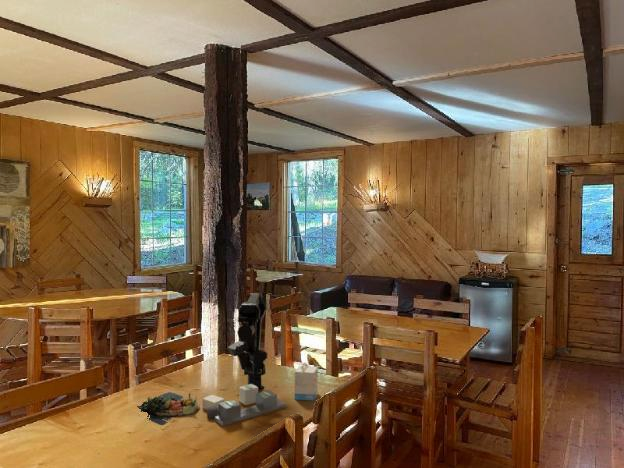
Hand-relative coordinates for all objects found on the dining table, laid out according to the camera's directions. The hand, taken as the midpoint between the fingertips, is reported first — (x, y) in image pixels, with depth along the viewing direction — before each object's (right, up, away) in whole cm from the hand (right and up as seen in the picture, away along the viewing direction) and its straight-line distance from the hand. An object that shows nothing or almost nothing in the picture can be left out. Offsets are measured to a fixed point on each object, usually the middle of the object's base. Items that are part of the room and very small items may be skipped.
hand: (248, 372), depth 185 cm
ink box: (+23, -12, +6) cm, 27 cm away
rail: (+3, -12, -11) cm, 17 cm away
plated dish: (-30, -13, -7) cm, 33 cm away
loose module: (0, -12, 0) cm, 12 cm away
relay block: (-13, -12, -7) cm, 19 cm away
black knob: (-12, -12, -14) cm, 22 cm away
